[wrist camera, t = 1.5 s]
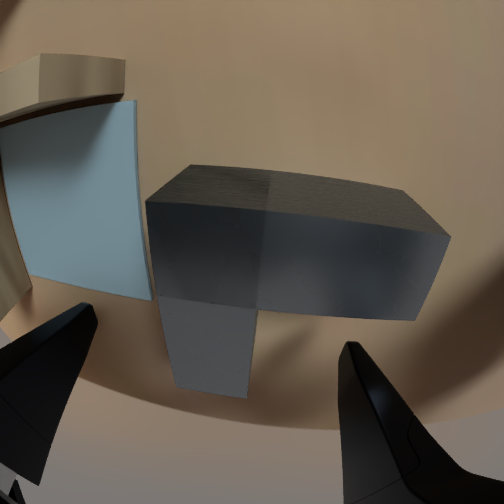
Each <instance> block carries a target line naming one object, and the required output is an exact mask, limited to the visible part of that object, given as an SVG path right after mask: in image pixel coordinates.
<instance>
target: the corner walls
mask: <svg viewBox="0 0 504 504" xmlns="http://www.w3.org/2000/svg"><path fill="white" fill-rule="evenodd" d="M124 72H125V60H121V59H114V58H106V57H97V56H86V55H73V54H38V55H36V56H34V57H31V58H29V59H27V60H25V61H23V62H21V63H19V64H17V65H15V66H13V67H11V68H9V69H7V70H5V71H3V72H2V73H0V122H3V121H6V120H8V119H11V118H14V117H17V116H21V115H24V114H27V113H30V112H34V111H37V110H41V109H45V108H49V107H53V106H57V105H61V104H65V103H70V102H74V101H79V100H84V99H89V98H95V97H101V96H107V95H114V94H121V93H124ZM31 287H32V285H31V282H30V280H29V277H28V274H27V271H26V269H25V266H24V263H23V260H22V257H21V254H20V251H19V247H18V244H17V241H16V237H15V234H14V230H13V226H12V222H11V218H10V214H9V210H8V206H7V201H6V196H5V191H4V186H3V180H2V174H1V167H0V321H1V320H2V319H3V318H4V317H5V316H6V314H7V313H8V312H9V311H10V310H11V309H12V308H13V307H14V305H15V304H16V303H17V302H18V301H19V300H20V299H21V298H22V297H23V296H24V295H25V294H26V293H27V292H28V290H29V289H30V288H31Z"/></svg>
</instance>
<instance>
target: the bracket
mask: <svg viewBox="0 0 504 504" xmlns="http://www.w3.org/2000/svg"><path fill="white" fill-rule="evenodd" d="M145 204H146V215H147V226H148V235H149V244H150V252H151V259H152V267H153V274H154V280H155V287H156V293H157V299H158V305H159V310H160V316H161V321H162V326H163V331H164V336H165V341H166V346H167V351H168V355H169V359H170V364H171V368H172V372H173V376H174V380H175V384H176V387H179V388H184V389H189V390H194V391H200V392H205V393H211V394H217V395H224V396H231V397H238V398H246V399H247V393H248V386H249V379H250V371H251V364H252V357H253V349H254V342H255V334H256V325H257V316H258V310H267V311H277V312H287V313H297V314H308V315H320V316H333V317H347V318H363V319H382V320H408V321H415V319H416V317H417V315H418V313H419V311H420V309H421V307H422V305H423V303H424V301H425V299H426V297H427V295H428V293H429V290H430V288H431V286H432V284H433V281H434V279H435V277H436V274H437V272H438V270H439V267H440V265H441V262H442V260H443V257H444V255H445V252H446V249H447V247H448V244H449V241H450V238H451V236H450V235H449V234H448V233H447V232H446V231H445V230H444V229H443V228H442V227H441V226H440V225H439V224H438V223H437V222H436V221H435V220H434V219H433V218H432V217H431V216H430V215H429V214H428V213H427V212H426V211H425V210H424V209H423V208H422V207H420V206H419V205H418V204H417V203H416V202H415V201H414V200H413V199H412V198H411V197H410V196H408V195H407V194H406V193H405V192H404V191H403V190H398V189H393V188H388V187H383V186H378V185H372V184H367V183H361V182H355V181H349V180H343V179H336V178H329V177H322V176H315V175H307V174H300V173H291V172H282V171H273V170H263V169H252V168H240V167H226V166H210V165H190V166H188V167H187V168H186V169H184V170H183V171H182V172H180V173H179V174H178V175H177V176H175V177H174V178H173V179H171V180H170V181H169V182H168V183H166V184H165V185H164V186H163V187H161V188H160V189H159V190H158V191H157V192H155V193H154V194H153V195H152V196H150V197H149V198H148V199H147V200H146V201H145Z"/></svg>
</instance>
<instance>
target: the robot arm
mask: <svg viewBox="0 0 504 504" xmlns="http://www.w3.org/2000/svg"><path fill="white" fill-rule="evenodd" d="M97 325H98V320H97V317H96V314H95V311H94V308H93V306H92V305H91V304H88V303H84V302H82V303H80V304H78V305H76V306H74V307H72V308H71V309H69V310H67V311H65V312H63V313H62V314H60V315H58V316H56V317H54V318H53V319H51V320H49V321H47V322H46V323H44V324H42V325H40V326H39V327H37V328H35V329H33V330H32V331H30V332H28V333H27V334H25V335H23V336H21V337H20V338H18V339H16V340H15V341H13V342H12V343H9V344H8V345H6V346H5V347H3V348H1V349H0V504H26V503H25V501H24V498H23V495H22V493H21V490H20V487H19V484H18V481H17V480H16V479H15V477H16V475H17V474H18V475H20V476H22V477H23V478H25V479H27V480H29V481H30V482H32V483H34V484H36V485H37V486H39V484H40V481H41V478H42V474H43V470H44V467H45V464H46V460H47V457H48V454H49V451H50V448H51V444H52V442H53V439H54V436H55V433H56V430H57V427H58V425H59V422H60V419H61V417H62V414H63V411H64V409H65V406H66V404H67V401H68V399H69V396H70V394H71V392H72V389H73V387H74V384H75V382H76V380H77V377H78V375H79V373H80V371H81V368H82V366H83V364H84V362H85V359H86V357H87V354H88V351H89V348H90V345H91V342H92V339H93V337H94V334H95V331H96V329H97ZM338 411H339V422H340V435H341V450H342V468H343V495H344V504H504V481H500V480H496V479H492V478H487V477H484V476H480V475H476V474H473V473H470V472H468V471H466V470H464V469H462V468H461V467H460V466H459V465H458V464H457V463H456V462H455V461H454V460H453V459H452V458H451V457H450V456H449V455H448V453H447V452H446V451H445V450H444V449H443V448H442V447H441V446H440V445H439V444H438V443H437V442H436V440H435V439H434V438H433V437H432V436H431V435H430V434H429V433H428V431H427V430H426V429H425V427H424V426H423V425H422V424H421V422H420V421H419V420H418V418H417V417H416V416H415V415H414V413H413V412H412V410H411V409H410V408H409V406H408V405H407V404H406V402H405V401H404V400H403V399H402V397H401V396H400V395H399V393H398V392H397V391H396V389H395V388H394V387H393V385H392V384H391V383H390V382H389V380H388V379H387V378H386V376H385V375H384V374H383V373H382V371H381V370H380V369H379V367H378V366H377V365H376V364H375V362H374V361H373V360H372V358H371V357H370V356H369V355H368V353H367V352H366V351H365V350H364V348H363V347H362V346H361V344H360V343H359V342H355V341H347V342H346V343H345V345H344V347H343V350H342V352H341V354H340V357H339V361H338Z"/></svg>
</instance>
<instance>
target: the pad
mask: <svg viewBox="0 0 504 504" xmlns="http://www.w3.org/2000/svg"><path fill="white" fill-rule="evenodd" d="M0 151H1V160H2V167H3V174H4V180H5V186H6V191H7V196H8V201H9V206H10V210H11V215H12V219H13V223H14V227H15V230H16V234H17V238H18V241H19V244H20V248H21V251H22V254H23V257H24V260H25V263H26V266H27V269H28V272H29V274H31V275H34V276H38V277H42V278H46V279H50V280H54V281H58V282H62V283H66V284H71V285H75V286H79V287H84V288H88V289H93V290H97V291H102V292H107V293H112V294H117V295H122V296H127V297H132V298H137V299H143V300H148V301H152V299H153V295H152V289H151V283H150V277H149V270H148V264H147V257H146V249H145V242H144V233H143V225H142V215H141V205H140V193H139V179H138V162H137V132H136V100H133V101H124V102H115V103H108V104H101V105H95V106H88V107H83V108H77V109H72V110H67V111H62V112H58V113H53V114H49V115H45V116H41V117H37V118H33V119H29V120H26V121H22V122H19V123H15V124H12V125H9V126H6V127H3V128H0Z"/></svg>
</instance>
